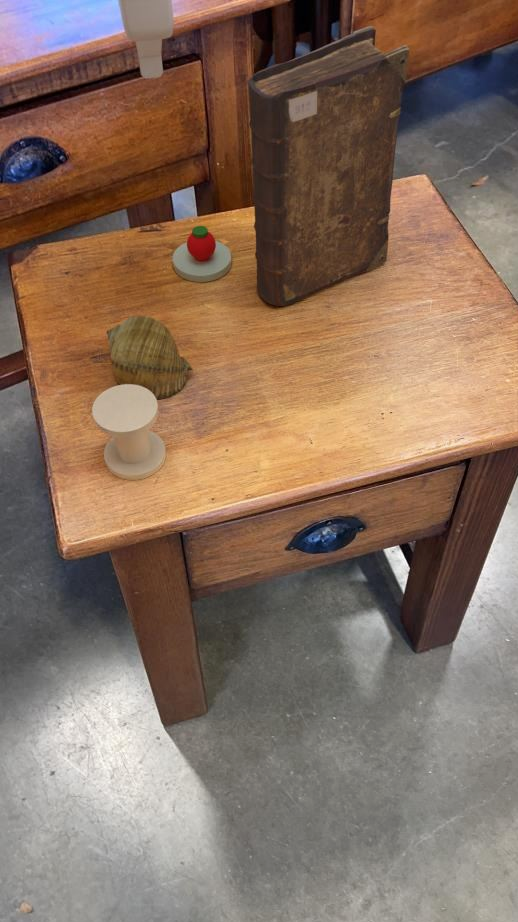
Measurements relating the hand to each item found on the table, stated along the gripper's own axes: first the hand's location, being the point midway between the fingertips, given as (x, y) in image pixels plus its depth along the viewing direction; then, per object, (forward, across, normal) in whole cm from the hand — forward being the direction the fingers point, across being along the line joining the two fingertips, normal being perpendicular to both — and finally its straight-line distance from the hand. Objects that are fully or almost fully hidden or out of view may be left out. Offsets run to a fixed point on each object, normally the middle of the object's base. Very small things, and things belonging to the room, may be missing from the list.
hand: (145, 47), depth 71 cm
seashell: (+29, -9, +4) cm, 31 cm away
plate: (+29, +8, -4) cm, 31 cm away
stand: (+29, -20, +7) cm, 36 cm away
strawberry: (+28, +8, -4) cm, 30 cm away
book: (+29, +4, -17) cm, 34 cm away
